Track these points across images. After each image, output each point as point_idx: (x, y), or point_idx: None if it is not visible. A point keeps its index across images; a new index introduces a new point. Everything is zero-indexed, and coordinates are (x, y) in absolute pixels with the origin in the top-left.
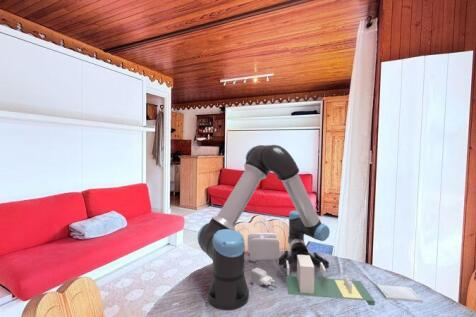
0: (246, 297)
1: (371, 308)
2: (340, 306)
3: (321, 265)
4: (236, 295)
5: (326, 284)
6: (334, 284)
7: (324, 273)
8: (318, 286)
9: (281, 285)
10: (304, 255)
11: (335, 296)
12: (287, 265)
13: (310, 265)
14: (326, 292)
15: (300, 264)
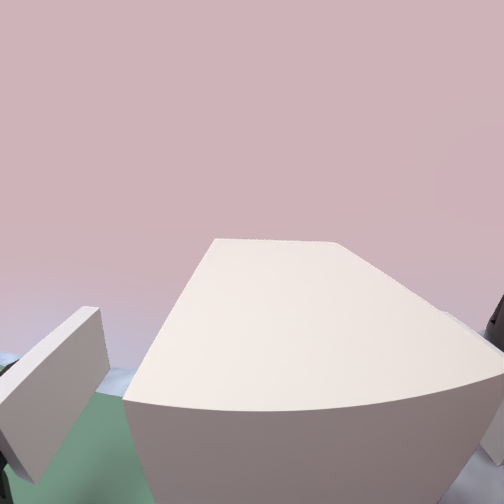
0: (490, 338)
1: (6, 365)
2: (107, 389)
3: (42, 366)
4: (499, 305)
5: (65, 500)
6: (10, 481)
7: (100, 335)
8: (147, 491)
9: (446, 501)
10: (321, 383)
11: (96, 400)
12: (470, 330)
13: (244, 244)
14: (125, 432)
15: (341, 248)
